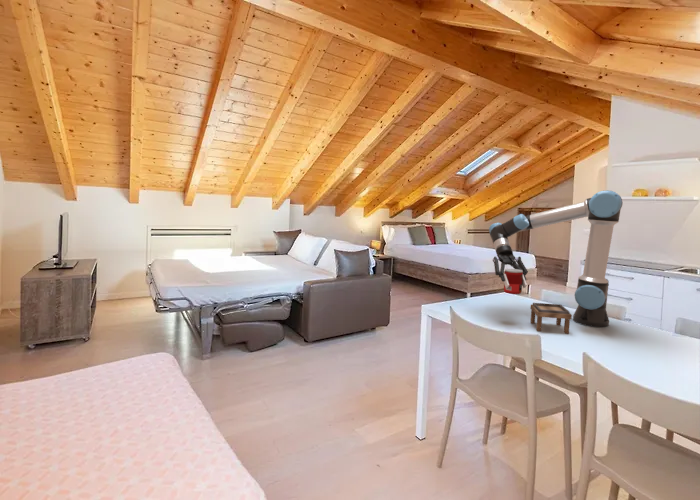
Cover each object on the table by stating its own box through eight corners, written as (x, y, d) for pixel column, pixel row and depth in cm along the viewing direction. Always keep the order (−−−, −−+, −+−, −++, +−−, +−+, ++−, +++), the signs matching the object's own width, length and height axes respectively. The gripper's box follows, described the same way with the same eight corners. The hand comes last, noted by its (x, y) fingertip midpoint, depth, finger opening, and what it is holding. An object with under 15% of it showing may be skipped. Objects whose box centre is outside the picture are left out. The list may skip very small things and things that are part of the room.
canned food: (523, 294, 178) (524, 271, 176) (505, 293, 179) (506, 271, 178) (519, 291, 185) (520, 269, 184) (502, 290, 187) (503, 268, 185)
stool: (560, 324, 183) (562, 304, 182) (569, 334, 170) (571, 312, 169) (529, 322, 187) (530, 302, 185) (536, 331, 173) (538, 309, 172)
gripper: (520, 253, 196) (534, 290, 182) (481, 253, 195) (492, 290, 181) (525, 244, 190) (541, 282, 176) (485, 244, 189) (497, 282, 175)
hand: (516, 286), depth 178 cm, fingers closed on canned food, 8 cm apart
